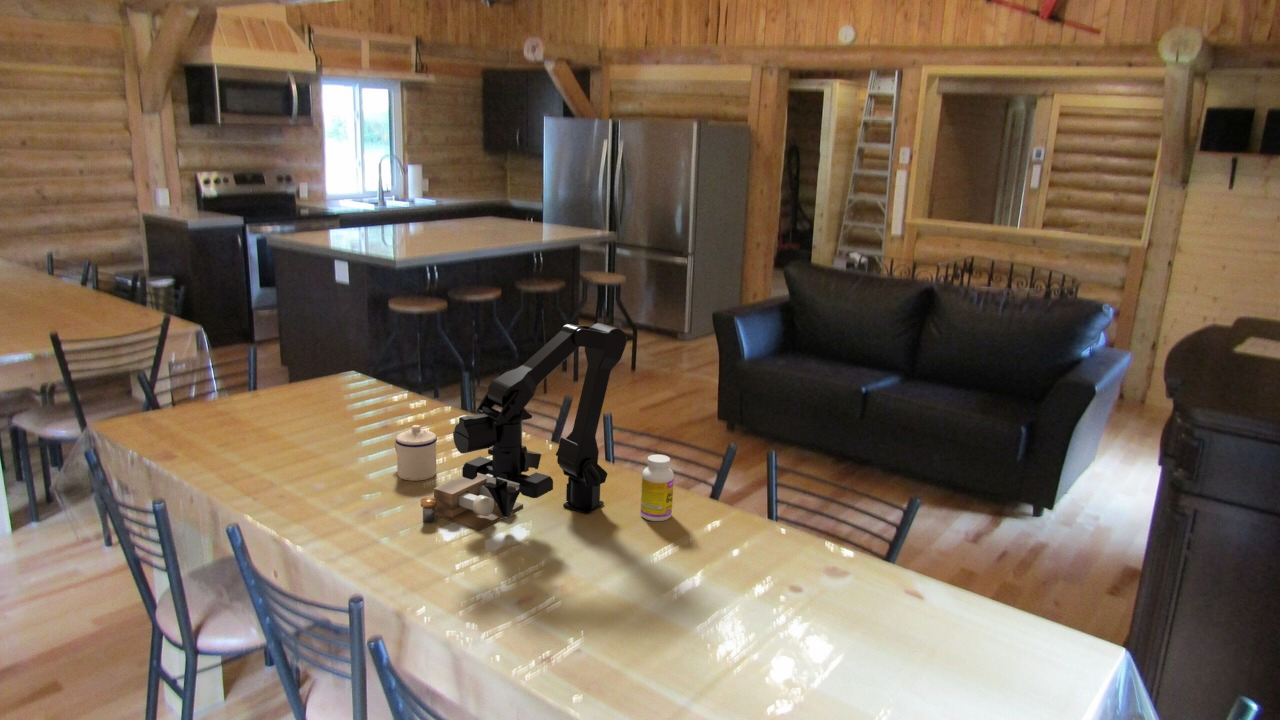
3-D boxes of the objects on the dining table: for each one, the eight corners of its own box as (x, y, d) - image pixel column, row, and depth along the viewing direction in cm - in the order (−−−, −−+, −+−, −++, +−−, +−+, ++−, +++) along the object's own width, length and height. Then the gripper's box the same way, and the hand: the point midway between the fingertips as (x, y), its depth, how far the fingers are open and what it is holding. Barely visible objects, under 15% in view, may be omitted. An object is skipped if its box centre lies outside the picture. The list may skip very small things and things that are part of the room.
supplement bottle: (668, 524, 178) (672, 465, 175) (637, 520, 180) (639, 462, 176) (674, 511, 185) (677, 454, 181) (643, 507, 186) (646, 451, 183)
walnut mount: (523, 506, 183) (523, 482, 182) (479, 530, 172) (478, 504, 170) (476, 492, 190) (476, 468, 188) (430, 513, 178) (430, 488, 177)
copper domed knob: (440, 520, 176) (440, 499, 174) (429, 525, 173) (428, 504, 172) (428, 516, 177) (428, 495, 176) (417, 521, 174) (417, 500, 173)
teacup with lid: (445, 474, 199) (445, 426, 196) (413, 485, 192) (412, 435, 189) (412, 460, 206) (411, 414, 203) (380, 471, 199) (378, 422, 196)
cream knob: (494, 512, 176) (494, 495, 176) (481, 519, 173) (481, 501, 172) (460, 501, 181) (460, 484, 180) (448, 507, 178) (447, 490, 177)
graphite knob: (514, 502, 182) (514, 485, 181) (502, 508, 179) (502, 491, 178) (481, 491, 186) (481, 475, 185) (469, 497, 183) (469, 480, 182)
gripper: (570, 441, 171) (568, 514, 174) (496, 422, 180) (496, 492, 184) (535, 457, 161) (534, 534, 165) (460, 437, 170) (460, 510, 174)
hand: (506, 516), depth 172 cm, fingers closed
